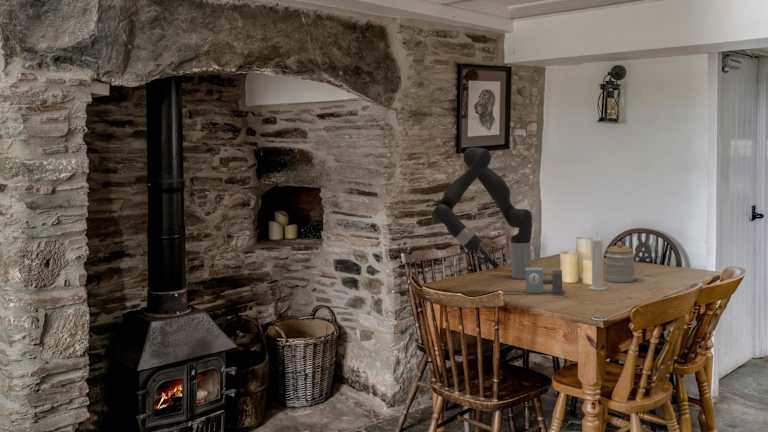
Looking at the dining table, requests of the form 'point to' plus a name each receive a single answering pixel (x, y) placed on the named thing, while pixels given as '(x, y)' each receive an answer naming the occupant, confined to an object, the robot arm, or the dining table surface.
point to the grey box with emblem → (535, 280)
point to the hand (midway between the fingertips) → (497, 267)
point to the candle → (597, 264)
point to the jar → (620, 264)
